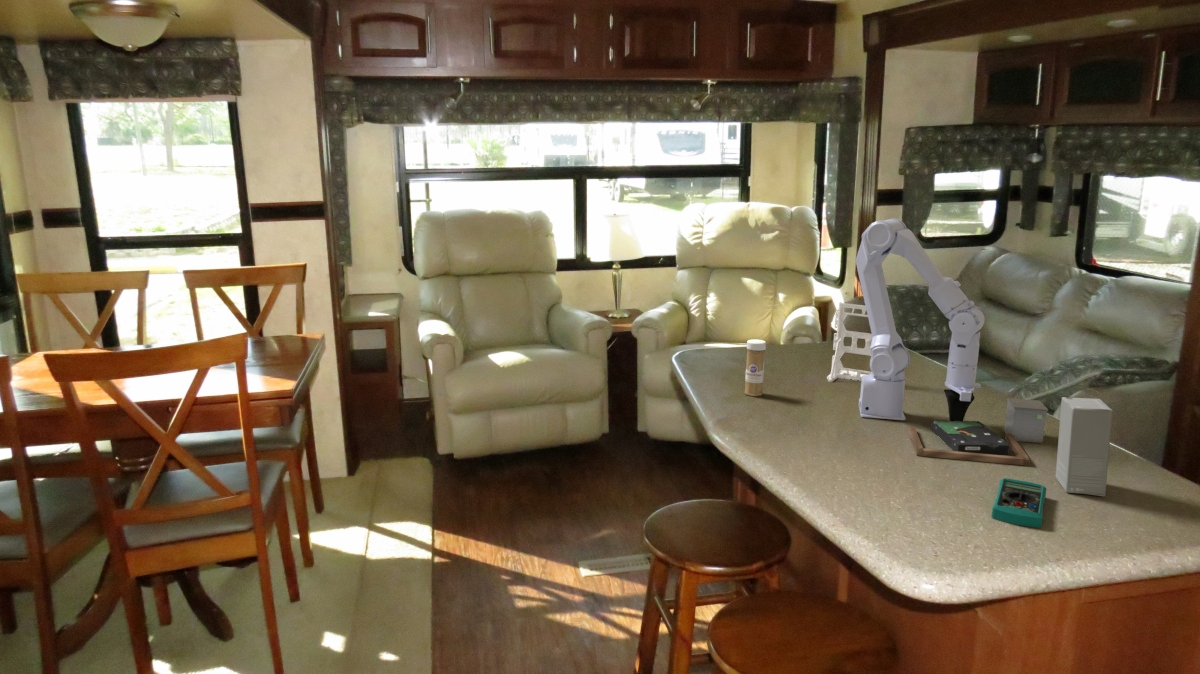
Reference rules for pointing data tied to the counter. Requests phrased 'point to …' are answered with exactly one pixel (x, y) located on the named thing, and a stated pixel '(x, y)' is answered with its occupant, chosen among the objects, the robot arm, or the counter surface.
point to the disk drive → (970, 437)
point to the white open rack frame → (853, 349)
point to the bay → (1019, 452)
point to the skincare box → (1083, 445)
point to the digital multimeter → (1019, 503)
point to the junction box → (1025, 420)
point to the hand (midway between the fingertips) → (955, 423)
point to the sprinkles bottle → (755, 367)
